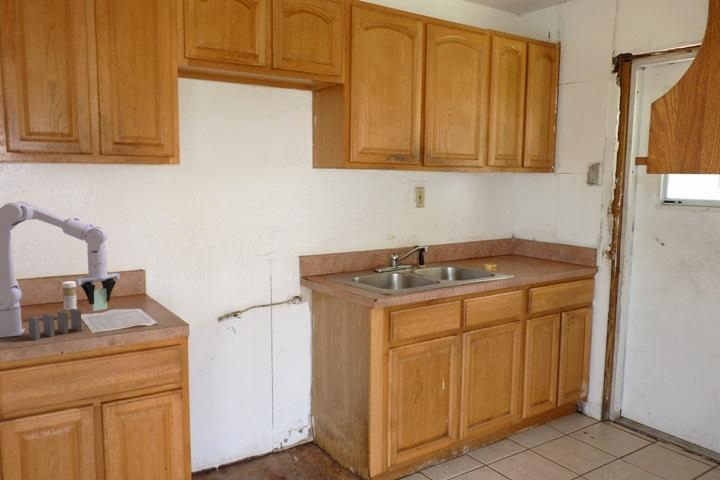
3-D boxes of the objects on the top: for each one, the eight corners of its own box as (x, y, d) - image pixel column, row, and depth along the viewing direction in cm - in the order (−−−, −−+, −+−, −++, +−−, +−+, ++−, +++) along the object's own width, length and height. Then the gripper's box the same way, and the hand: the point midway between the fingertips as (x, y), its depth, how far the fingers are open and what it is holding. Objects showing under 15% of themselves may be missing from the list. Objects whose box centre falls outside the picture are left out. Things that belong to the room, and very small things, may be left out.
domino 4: (78, 331, 190) (77, 311, 189) (71, 329, 192) (70, 309, 192) (81, 330, 190) (80, 310, 190) (74, 328, 193) (73, 308, 193)
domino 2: (50, 337, 182) (49, 316, 182) (44, 334, 185) (42, 314, 184) (54, 336, 183) (53, 315, 183) (47, 333, 186) (46, 313, 185)
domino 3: (64, 334, 186) (63, 313, 185) (57, 331, 189) (56, 311, 188) (68, 333, 187) (67, 312, 186) (61, 331, 190) (60, 310, 189)
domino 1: (36, 340, 179) (34, 318, 178) (29, 337, 182) (28, 316, 181) (40, 339, 180) (38, 318, 179) (33, 336, 183) (32, 315, 182)
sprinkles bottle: (67, 316, 211) (65, 280, 209) (79, 315, 211) (77, 280, 210) (61, 319, 206) (59, 283, 205) (74, 318, 207) (72, 282, 205)
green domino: (107, 308, 192) (106, 288, 192) (93, 311, 189) (92, 290, 188) (105, 308, 193) (104, 288, 192) (91, 310, 189) (90, 290, 189)
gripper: (82, 266, 181) (84, 308, 182) (123, 261, 193) (125, 300, 194) (71, 264, 185) (73, 305, 187) (112, 260, 197) (114, 297, 198)
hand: (99, 302), depth 191 cm, fingers closed on green domino, 5 cm apart
